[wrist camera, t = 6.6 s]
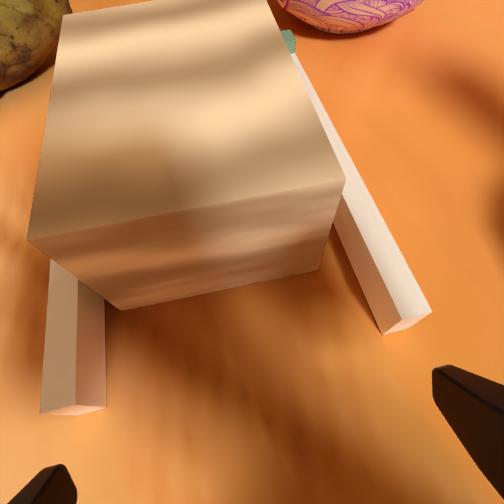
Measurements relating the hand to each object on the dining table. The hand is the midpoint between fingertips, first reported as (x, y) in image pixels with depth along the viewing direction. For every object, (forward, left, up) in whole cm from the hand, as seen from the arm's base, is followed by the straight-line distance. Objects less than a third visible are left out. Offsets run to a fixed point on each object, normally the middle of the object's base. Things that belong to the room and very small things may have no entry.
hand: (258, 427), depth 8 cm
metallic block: (+15, 0, -9) cm, 18 cm away
